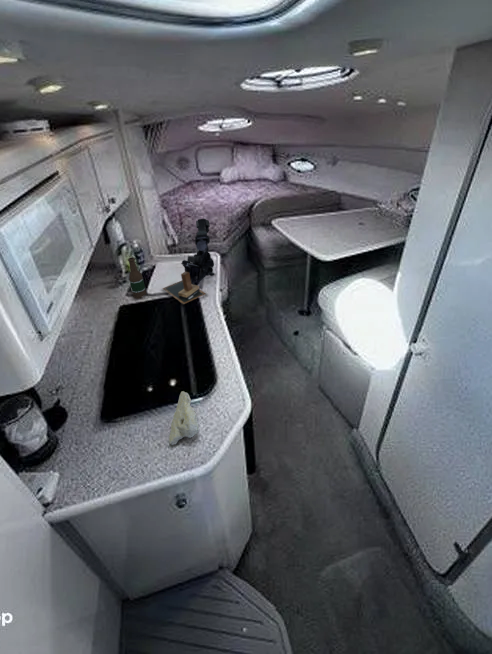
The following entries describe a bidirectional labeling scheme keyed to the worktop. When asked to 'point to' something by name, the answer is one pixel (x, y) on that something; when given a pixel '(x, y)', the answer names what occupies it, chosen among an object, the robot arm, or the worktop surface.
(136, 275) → the beer bottle
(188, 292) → the eraser
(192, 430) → the cream lumpy piece
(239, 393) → the worktop surface
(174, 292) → the chalkboard
